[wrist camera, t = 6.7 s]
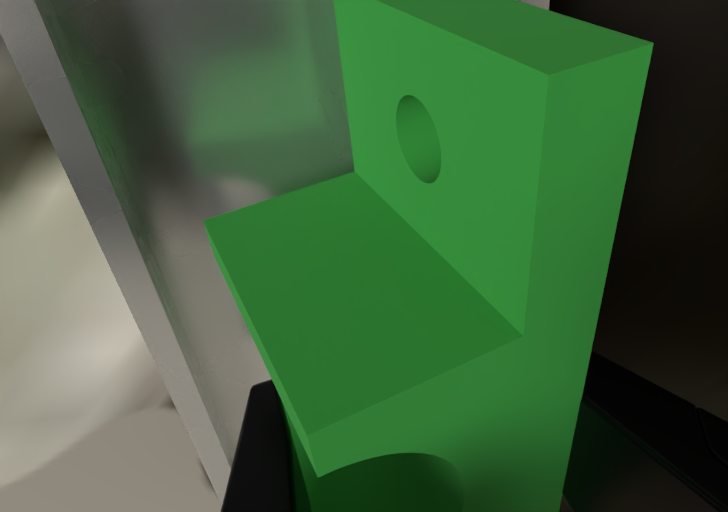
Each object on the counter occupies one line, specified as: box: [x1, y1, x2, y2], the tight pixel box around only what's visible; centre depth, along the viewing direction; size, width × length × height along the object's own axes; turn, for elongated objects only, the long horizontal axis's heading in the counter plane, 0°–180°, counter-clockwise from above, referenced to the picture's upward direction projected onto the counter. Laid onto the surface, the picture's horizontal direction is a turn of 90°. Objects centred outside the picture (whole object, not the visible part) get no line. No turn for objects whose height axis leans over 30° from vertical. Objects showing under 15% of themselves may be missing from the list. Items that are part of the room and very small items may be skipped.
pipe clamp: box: [203, 0, 654, 512], centre depth 9 cm, size 11×4×5 cm, turn 6°
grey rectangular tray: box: [0, 0, 550, 505], centre depth 12 cm, size 15×8×2 cm, turn 6°
